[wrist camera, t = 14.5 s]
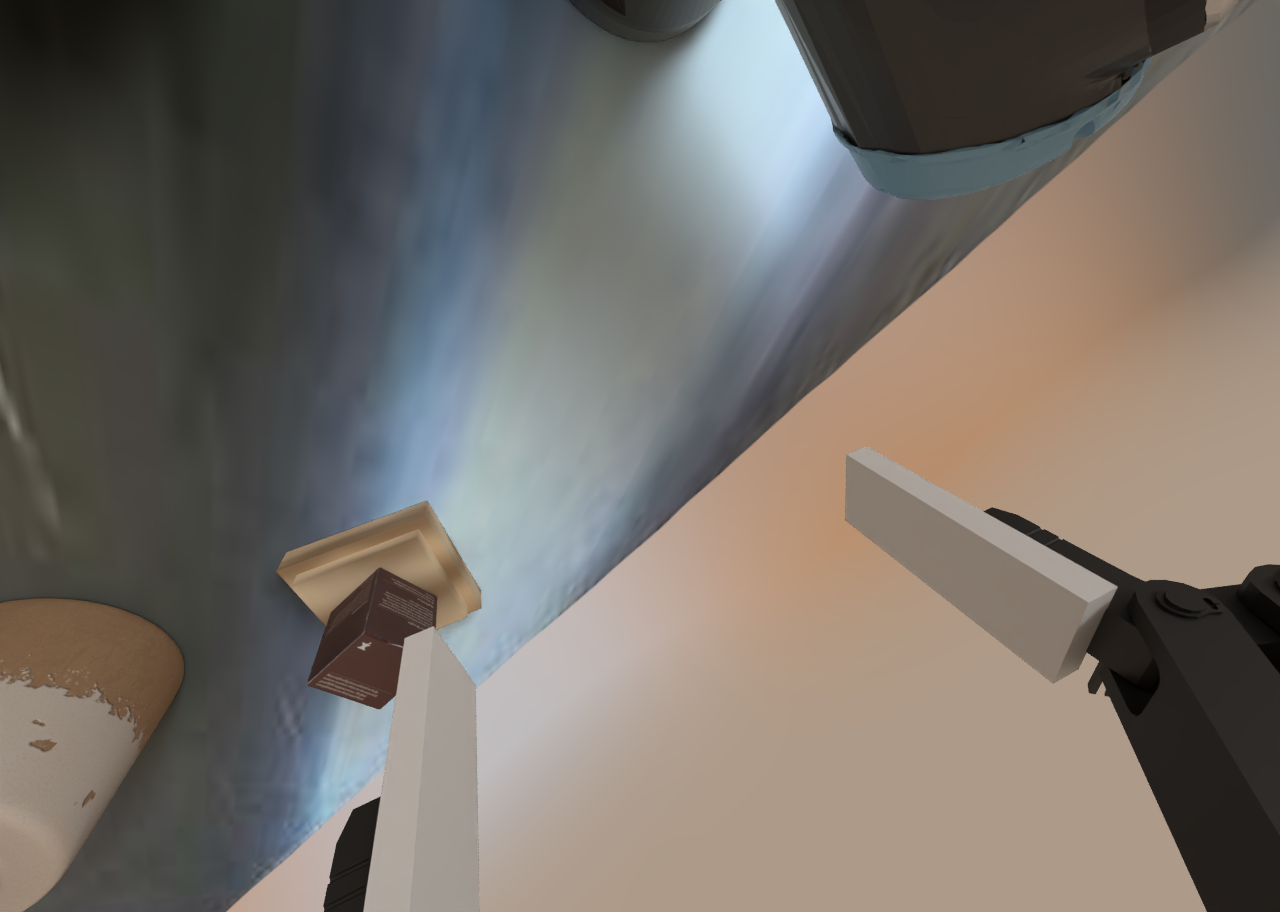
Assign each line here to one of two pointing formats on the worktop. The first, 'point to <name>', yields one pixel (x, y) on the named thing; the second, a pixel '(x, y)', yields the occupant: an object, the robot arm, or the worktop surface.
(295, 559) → the plinth
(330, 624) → the box
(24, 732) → the vase
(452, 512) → the worktop surface
